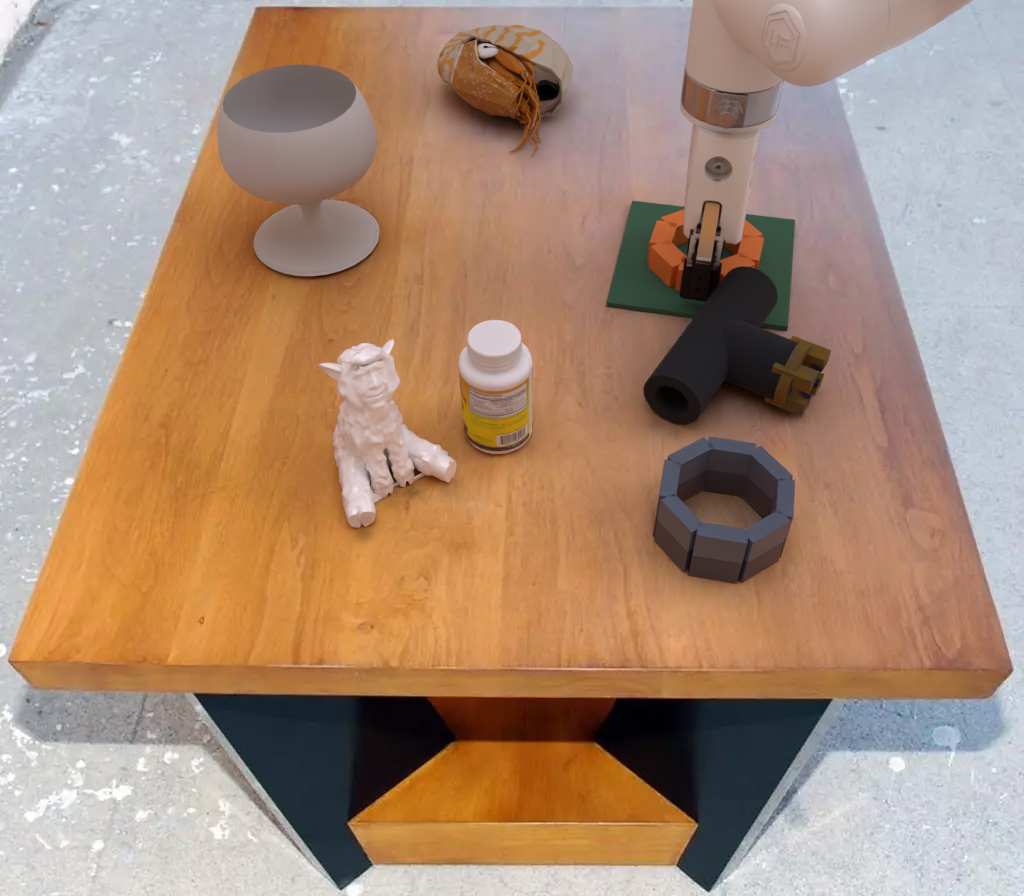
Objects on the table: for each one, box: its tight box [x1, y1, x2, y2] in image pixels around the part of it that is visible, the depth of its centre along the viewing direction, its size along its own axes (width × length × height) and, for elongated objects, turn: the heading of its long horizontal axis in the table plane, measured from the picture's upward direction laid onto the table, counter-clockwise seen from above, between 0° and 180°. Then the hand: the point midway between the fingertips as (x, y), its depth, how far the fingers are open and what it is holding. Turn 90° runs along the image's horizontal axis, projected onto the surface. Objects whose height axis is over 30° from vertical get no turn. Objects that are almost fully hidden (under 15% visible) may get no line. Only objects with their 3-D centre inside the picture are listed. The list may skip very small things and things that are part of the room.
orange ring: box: [647, 209, 764, 291], centre depth 93 cm, size 10×10×2 cm
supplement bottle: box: [457, 319, 534, 455], centre depth 77 cm, size 6×6×10 cm
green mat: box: [605, 200, 796, 331], centre depth 94 cm, size 16×16×1 cm
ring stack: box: [652, 436, 796, 584], centre depth 72 cm, size 9×9×5 cm
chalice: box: [216, 64, 381, 277], centre depth 92 cm, size 14×14×15 cm
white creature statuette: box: [317, 338, 458, 529], centre depth 74 cm, size 10×9×12 cm
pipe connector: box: [642, 266, 832, 426], centre depth 82 cm, size 12×5×15 cm
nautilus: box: [436, 24, 574, 158], centre depth 110 cm, size 8×22×15 cm
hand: (700, 275), depth 91 cm, fingers open, 5 cm apart
